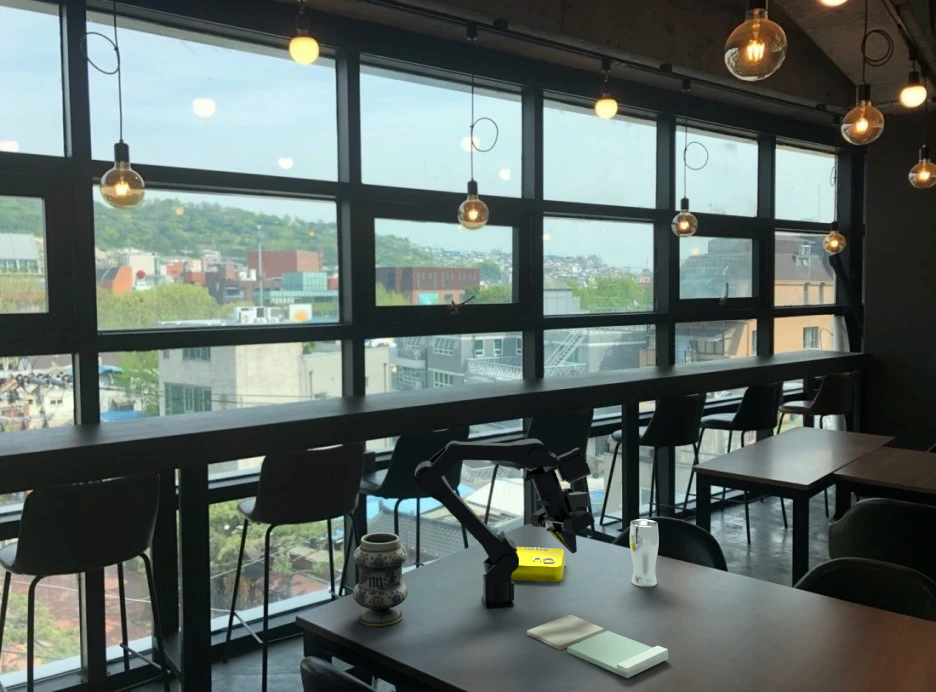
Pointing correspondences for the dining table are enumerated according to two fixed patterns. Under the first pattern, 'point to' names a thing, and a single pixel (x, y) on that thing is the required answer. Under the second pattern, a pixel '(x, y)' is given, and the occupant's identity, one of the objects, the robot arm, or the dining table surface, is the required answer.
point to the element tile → (540, 564)
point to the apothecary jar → (380, 578)
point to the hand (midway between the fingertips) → (574, 552)
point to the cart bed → (565, 631)
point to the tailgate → (618, 653)
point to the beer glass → (644, 551)
